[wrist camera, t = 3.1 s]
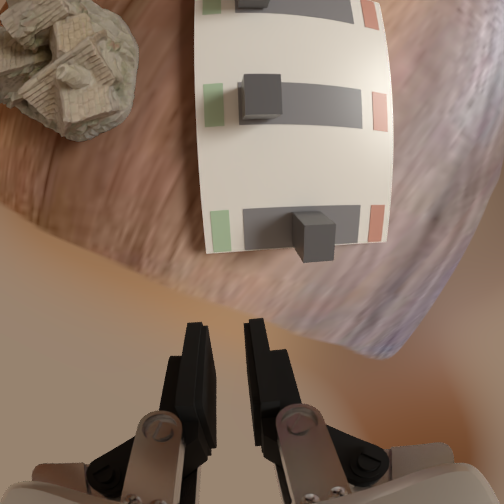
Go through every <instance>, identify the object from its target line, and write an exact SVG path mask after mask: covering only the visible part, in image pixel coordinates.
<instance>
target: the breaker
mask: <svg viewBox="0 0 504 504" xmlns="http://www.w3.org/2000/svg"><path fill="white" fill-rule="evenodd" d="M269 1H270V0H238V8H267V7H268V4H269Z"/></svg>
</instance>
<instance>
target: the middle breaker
mask: <svg viewBox="0 0 504 504" xmlns="http://www.w3.org/2000/svg"><path fill="white" fill-rule="evenodd" d="M241 101H242V120H259V119H275V118H277V117H279V116H281V115H282V114H283V112H282V88H281V74H244V75H243V79H242V83H241Z"/></svg>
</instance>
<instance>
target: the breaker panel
mask: <svg viewBox="0 0 504 504" xmlns="http://www.w3.org/2000/svg"><path fill="white" fill-rule="evenodd" d="M194 70H195V106H196V129H197V148H198V164H199V178H200V192H201V204H202V215H203V226H204V237H205V246H206V254H209V253H224V252H239V251H254V250H269V249H284V248H294V247H293V245H292V212H307V211H320V212H322V213H323V214H324V215H325V216H327V217H328V218H329V219H330V220H332V221H333V222H334V223H335V224H336V233H335V245H345V244H360V243H376V242H386V240H387V232H388V224H389V214H390V203H391V190H392V173H393V105H392V88H391V76H390V66H389V57H388V49H387V42H386V36H385V29H384V24H383V18H382V13H381V8H380V4H379V3H377V2H373V1H370V0H270V1H269V4H268V7H267V8H238V0H195V15H194ZM244 74H281V88H282V112H283V114H282V115H281V116H279V117H277V118H275V119H259V120H242V101H241V83H242V79H243V75H244Z"/></svg>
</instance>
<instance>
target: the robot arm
mask: <svg viewBox="0 0 504 504" xmlns="http://www.w3.org/2000/svg"><path fill="white" fill-rule="evenodd" d="M244 335H245V349H246V363H247V376H248V385H249V395H250V403H251V413H252V421H253V430H254V438H255V446H261V448H262V453H263V455H264V457H265V458H266V459H268V460H269V461H271V462H273V463H274V468H275V473H276V477H277V482H278V486H279V490H280V495H281V499H282V503H283V504H500V503H499V501H498V499H497V497H496V495H495V493H494V491H493V489H492V488H491V486H490V484H489V483H488V481H487V480H486V479H485V477H484V476H483V475H482V474H481V472H480V471H479V470H477V469H476V468H475V467H473V466H472V465H469V464H465V463H454V457H453V453H452V450H451V448H450V447H449V446H448V445H446V444H444V443H430V444H422V445H413V446H400V447H391V449H386V450H385V449H382V448H380V447H378V446H376V445H374V444H371V443H368V442H366V441H363V440H361V439H358V438H356V437H353V436H351V435H349V434H346V433H344V432H342V431H339V430H337V429H335V428H333V427H330V426H328V425H326V424H325V422H324V419H323V416H322V415H321V413H320V411H318V410H317V409H316V408H315V407H313V406H310V405H308V404H302V403H301V399H300V396H299V392H298V388H297V385H296V381H295V378H294V374H293V370H292V367H291V364H290V360H289V356H288V353H287V350H286V349H282V350H273V351H270V348H269V344H268V339H267V334H266V329H265V324H264V320H263V318H258V319H249V323H244ZM216 443H217V442H216V371H215V366H214V360H213V354H212V348H211V342H210V337H209V330H208V326H203V324H202V322H195V323H187V328H186V334H185V340H184V346H183V352H182V356H170V358H169V361H168V366H167V371H166V376H165V381H164V386H163V391H162V397H161V402H160V408H159V411H154V412H150V413H149V414H147V415H145V416H144V417H143V418H142V419H141V420H140V422H139V424H138V427H137V431H136V435H135V436H134V437H133V438H131V439H129V440H128V441H126V442H125V443H123V444H121V445H120V446H118V447H116V448H114V449H113V450H111V451H109V452H108V453H106V454H104V455H102V456H101V457H99V458H97V459H95V460H94V461H93V462H91V463H90V464H86V465H85V464H84V463H58V464H54V463H50V464H47V463H44V464H39V465H37V466H36V467H35V468H34V470H33V473H32V481H23V482H18V483H15V484H13V485H11V486H10V487H9V488H8V489H7V490H6V492H5V493H4V495H3V497H2V500H1V502H0V504H199V491H200V476H201V465H202V464H203V463H204V462H206V461H207V459H208V456H211V448H216V446H217V444H216Z"/></svg>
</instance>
